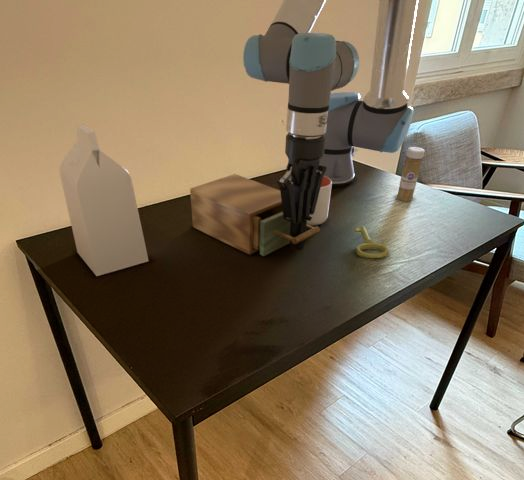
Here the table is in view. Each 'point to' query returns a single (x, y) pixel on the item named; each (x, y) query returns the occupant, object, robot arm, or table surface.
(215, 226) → the cabinet
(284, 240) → the drawer
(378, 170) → the table surface
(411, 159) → the sprinkles bottle
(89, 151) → the milk
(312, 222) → the cup
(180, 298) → the table surface
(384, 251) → the key
